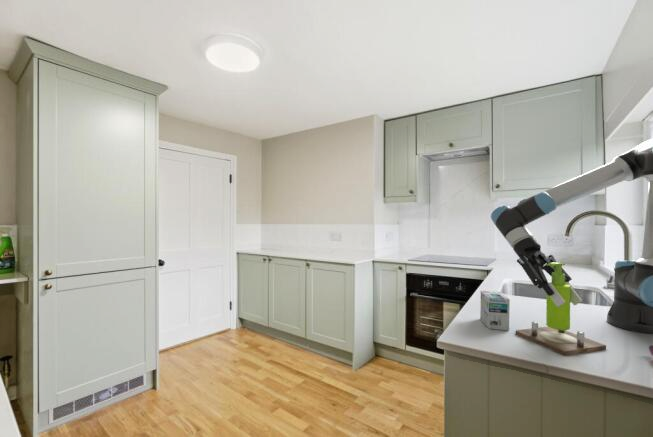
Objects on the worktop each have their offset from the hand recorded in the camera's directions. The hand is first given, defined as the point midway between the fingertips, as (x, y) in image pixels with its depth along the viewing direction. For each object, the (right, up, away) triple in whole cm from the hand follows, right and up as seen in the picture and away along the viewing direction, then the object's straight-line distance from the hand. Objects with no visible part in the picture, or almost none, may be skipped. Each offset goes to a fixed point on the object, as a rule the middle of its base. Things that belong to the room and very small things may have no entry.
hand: (569, 303), depth 93 cm
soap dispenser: (-1, -8, +4) cm, 9 cm away
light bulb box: (-13, -12, +18) cm, 25 cm away
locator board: (-1, -13, +4) cm, 13 cm away
